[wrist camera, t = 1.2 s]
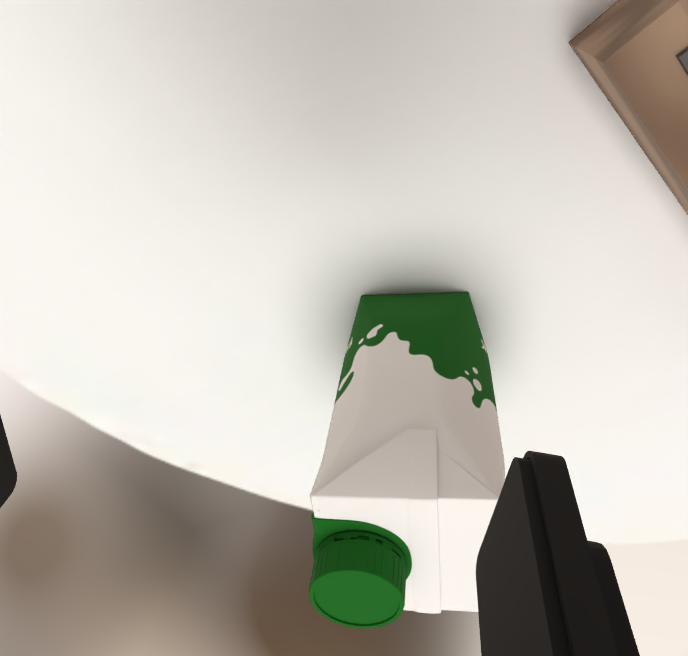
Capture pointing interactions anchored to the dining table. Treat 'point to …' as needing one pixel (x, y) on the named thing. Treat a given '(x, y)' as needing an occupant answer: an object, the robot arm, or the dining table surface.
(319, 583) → the milk carton
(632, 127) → the walnut block
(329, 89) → the dining table surface
